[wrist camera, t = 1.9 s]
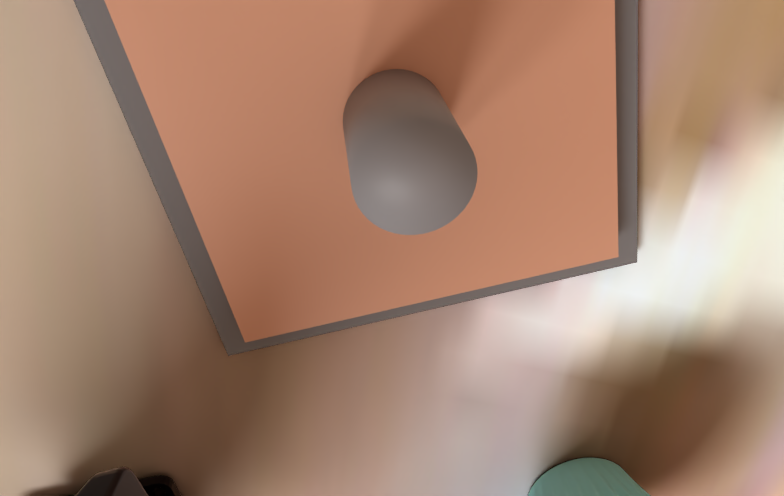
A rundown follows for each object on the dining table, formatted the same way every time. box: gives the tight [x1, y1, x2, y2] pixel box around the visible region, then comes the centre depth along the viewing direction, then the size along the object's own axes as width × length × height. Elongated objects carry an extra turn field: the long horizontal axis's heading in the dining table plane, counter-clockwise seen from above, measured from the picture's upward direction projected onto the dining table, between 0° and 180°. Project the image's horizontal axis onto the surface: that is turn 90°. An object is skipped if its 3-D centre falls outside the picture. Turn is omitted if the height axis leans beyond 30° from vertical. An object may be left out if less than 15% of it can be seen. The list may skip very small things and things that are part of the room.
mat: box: [74, 0, 638, 356], centre depth 20 cm, size 15×15×1 cm
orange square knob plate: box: [104, 0, 619, 342], centre depth 17 cm, size 13×13×5 cm
